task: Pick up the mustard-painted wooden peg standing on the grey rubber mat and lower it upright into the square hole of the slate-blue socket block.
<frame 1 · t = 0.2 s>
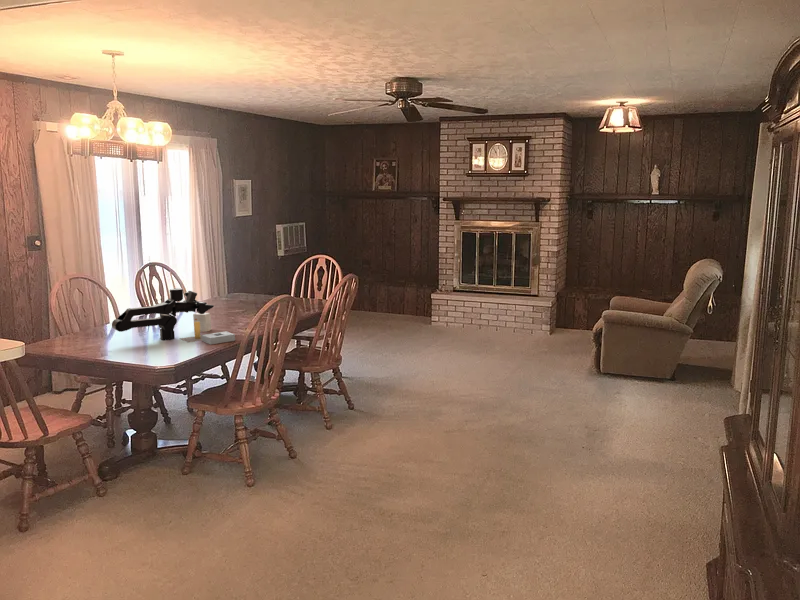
hand: (210, 304, 374), 16 cm above the table, tool horizontal, fingers open, 9 cm apart
peg: (197, 338, 361), point 1 cm above the table, touching mat
mat: (196, 339, 360), on the table
socket block: (218, 341, 355), on the table
small box: (202, 331, 382), on the table
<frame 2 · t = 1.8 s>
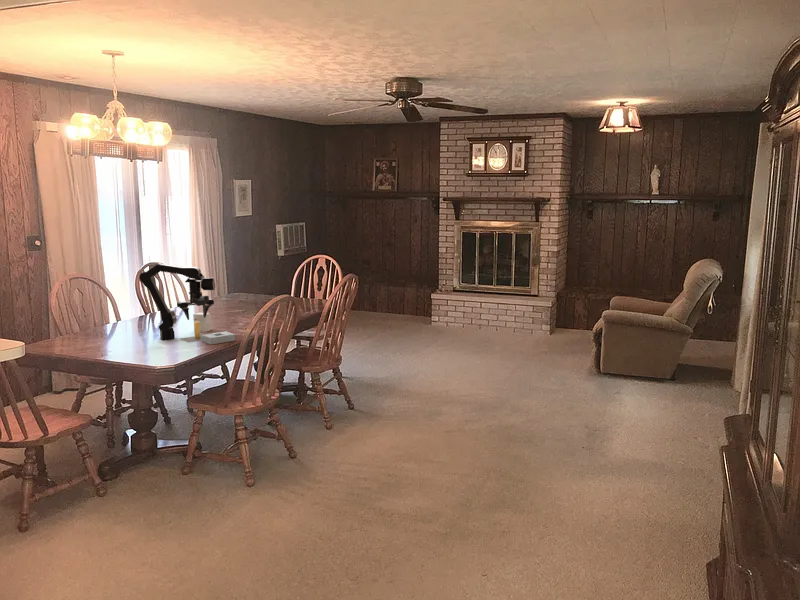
hand: (196, 318, 359), 11 cm above the table, tool pointing down, fingers open, 9 cm apart
nothing on the table moved.
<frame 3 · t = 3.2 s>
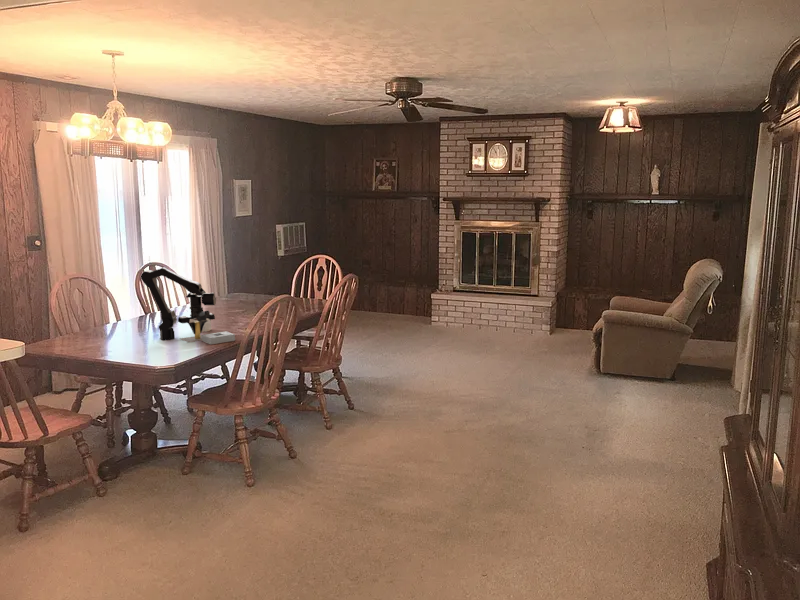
hand: (197, 333, 361), 3 cm above the table, tool pointing down, fingers closed on peg, 3 cm apart
peg: (197, 338, 361), point 1 cm above the table, touching gripper, mat
everything else where it was.
when the fingers open (5 cm above the table, at t = 7.4 s): peg drops 2 cm, resting in socket block.
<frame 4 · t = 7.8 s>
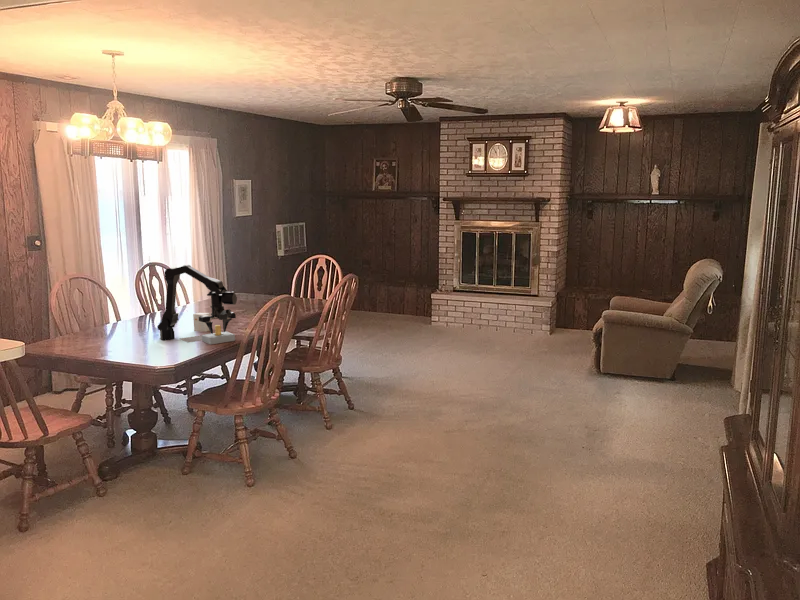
hand: (218, 332, 354), 5 cm above the table, tool pointing down, fingers open, 7 cm apart
peg: (218, 341, 355), resting in socket block
everything else where it was.
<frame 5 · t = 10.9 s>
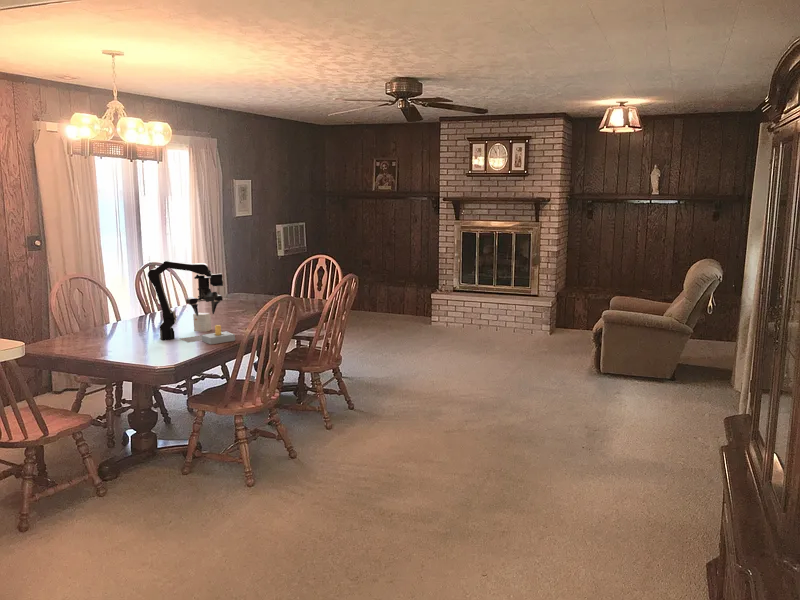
hand: (205, 314, 362), 13 cm above the table, tool pointing down, fingers open, 9 cm apart
nothing on the table moved.
at the end: peg 0.0 cm off-centre on the socket block, point 0.0 cm above the socket block's base; peg tilted 0°; the gripper is holding nothing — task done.
